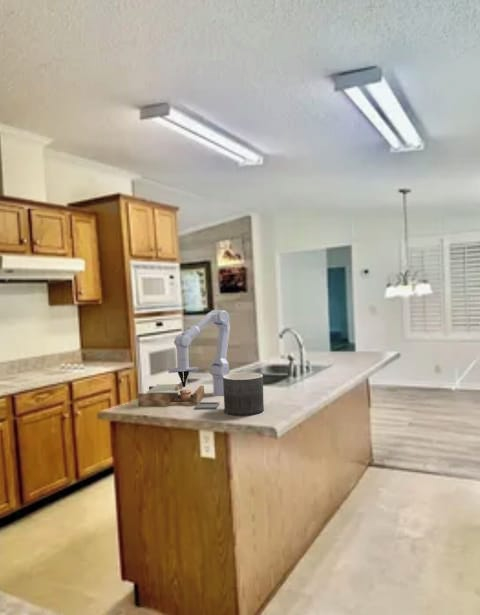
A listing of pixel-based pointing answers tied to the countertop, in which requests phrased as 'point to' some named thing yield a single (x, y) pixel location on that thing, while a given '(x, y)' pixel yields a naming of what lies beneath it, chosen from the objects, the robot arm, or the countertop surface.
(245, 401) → the planter
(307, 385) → the countertop surface
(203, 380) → the countertop surface
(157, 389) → the lid
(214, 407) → the tray
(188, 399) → the pot
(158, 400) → the cold frame
